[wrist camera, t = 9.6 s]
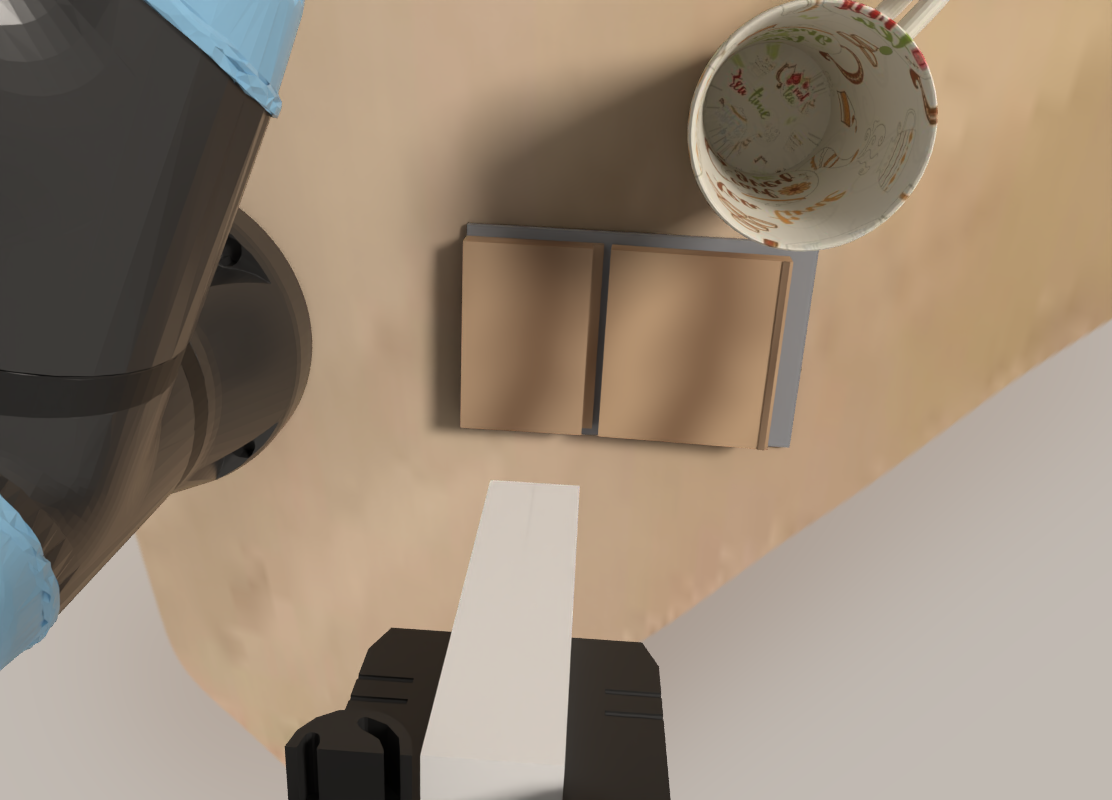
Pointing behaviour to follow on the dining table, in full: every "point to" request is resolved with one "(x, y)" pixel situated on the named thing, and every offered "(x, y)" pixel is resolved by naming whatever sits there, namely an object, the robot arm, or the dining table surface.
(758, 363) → the plank
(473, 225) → the underlay
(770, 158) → the mug
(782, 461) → the dining table surface
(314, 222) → the dining table surface
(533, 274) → the laid plank
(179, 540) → the dining table surface
